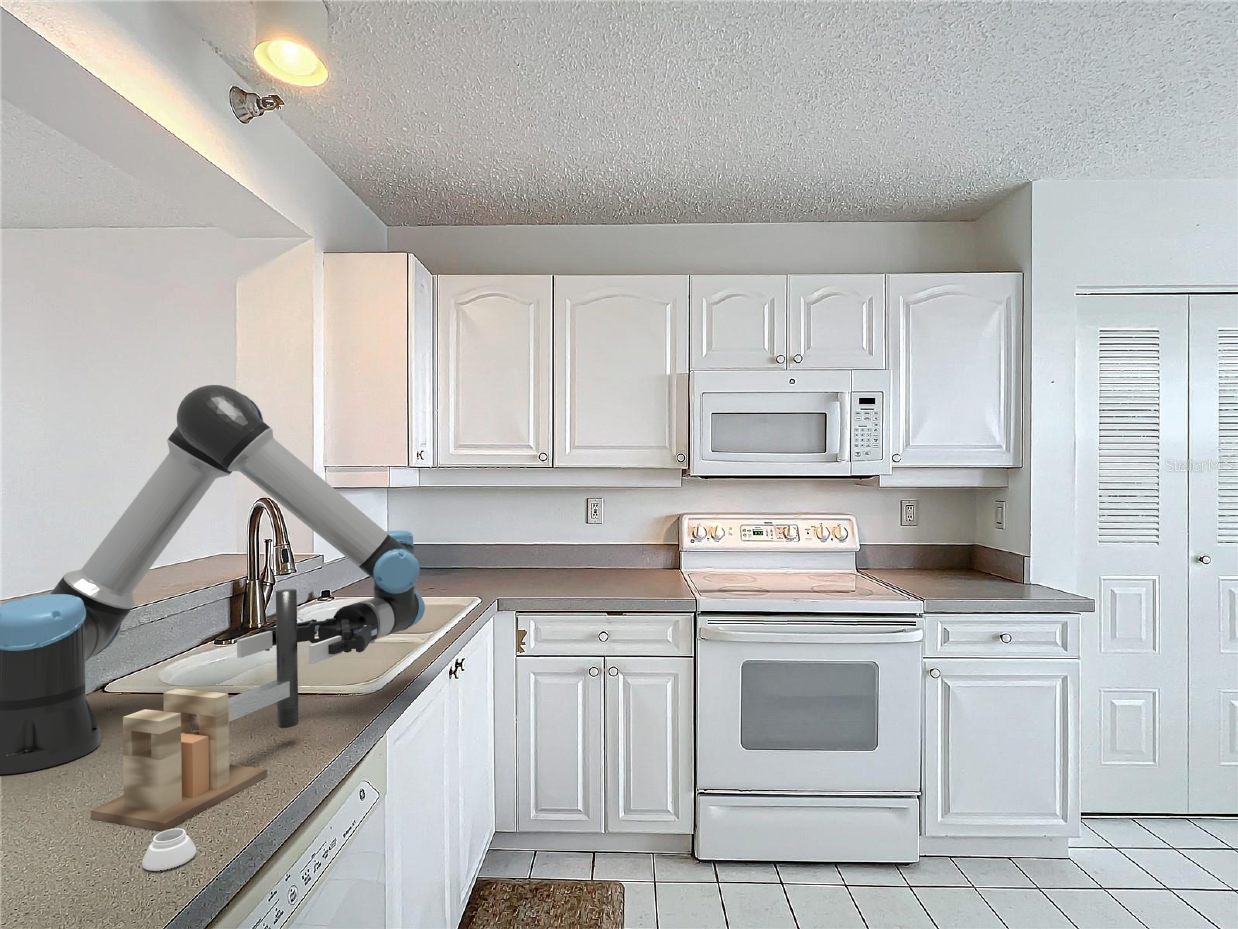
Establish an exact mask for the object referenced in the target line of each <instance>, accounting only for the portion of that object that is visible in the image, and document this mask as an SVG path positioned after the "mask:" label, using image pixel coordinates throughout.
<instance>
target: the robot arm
mask: <svg viewBox="0 0 1238 929" xmlns="http://www.w3.org/2000/svg"><path fill="white" fill-rule="evenodd" d="M176 424H177V426H176V427H175V428H174V430H173V432H172V433H171V434H170V435H169V437H168V438H167V440H166V442H167V445H168V453H167V455H166V456H165V458H164V460H162V462H161V463H160V464H159V466H158V467H157V469H156V470H155V471H154V472H153V473H152V475H151V477H150V478H148V480H147V481H146V483H145V484H144V486H142V489H140V491H139V492H138V494H137V495H136V496H135V498H134V499H133V500H132V502H131V503H130V504H129V506H128V507H127V508H126V509H125V511H124V512H123V513H122V515H121V516H120V518H119V519H118V520H117V522H115V524H114V525H113V527H112V528H111V529H110V530H109V532H108V533H107V535H106V536H105V538H103V540H102V541H101V542H100V544H99V545H98V547H97V548H96V549H95V550H94V552H93V553H92V554H91V556H89V558H88V559H87V561H86V562H85V564H84V565H83V566H82V568H80V569H76V570H72V571H69V572H66V573H65V574H64V575H63V576H62V578H61V579H60V580H59V581H58V583H57V584H56V585H55V587H54V588H53V589H52V591H50V593H49V594H43V595H42V594H41V595H34V596H28V597H24V598H21V599H18V600H12V601H9V602H6V603H4V604H1V605H0V775H11V774H20V773H28V772H33V771H38V770H43V769H48V768H51V767H55V766H58V765H62V764H64V763H68V762H71V761H74V760H77V759H79V758H81V757H83V756H85V755H88V754H89V753H91V752H93V751H94V750H96V749H97V748H98V747H99V745H101V730H100V729H101V728H100V727H99V724H98V722H97V720H96V717H95V715H94V712H93V710H92V708H91V706H90V705H91V704H89V702H88V699H87V696H86V695H87V694H86V693H87V692H86V662H87V661H88V660H90V659H91V658H92V657H95V656H97V655H98V654H100V653H101V652H103V651H105V650H106V649H107V648H108V647H109V646H110V645H111V644H112V643H113V642H114V641H115V639H116V638H117V636H118V634H119V632H120V631H121V627H122V624H123V622H124V620H125V619H126V618H127V616H128V615H129V613H130V612H131V611H132V609H133V608H134V606H135V604H136V602H135V600H134V599H135V598H134V596H133V594H134V593H133V592H134V591H135V589H136V588H137V587H138V585H139V584H140V583H141V581H142V580H143V578H144V577H145V576H146V574H147V573H148V572H149V571H150V569H151V568H152V566H153V565H154V563H155V562H156V561H157V559H158V558H159V557H160V555H161V554H162V553H163V551H164V550H165V548H166V547H167V546H168V545H169V543H170V542H171V540H172V539H173V538H174V537H175V535H176V534H177V533H178V532H179V529H180V528H181V527H182V525H183V524H184V523H185V522H186V521H187V519H188V518H189V516H190V515H191V514H192V512H193V510H194V509H195V508H196V507H197V505H198V503H200V501H201V500H202V498H203V497H204V495H205V494H207V491H208V490H209V489H210V488H211V486H212V485H213V483H214V482H215V481H216V479H219V478H223V477H227V476H230V475H231V474H232V473H233V472H240V473H241V474H242V475H243V476H245V477H246V478H247V479H248V480H250V481H251V482H252V483H254V484H255V485H256V486H257V487H258V488H260V490H262V491H263V492H265V493H266V494H267V495H269V496H270V497H271V498H272V499H273V500H274V501H276V502H277V503H278V504H280V505H281V506H282V507H283V508H285V509H286V510H287V511H289V512H290V513H291V514H293V516H294V517H296V518H297V519H298V520H299V521H301V522H302V523H304V525H305V526H307V527H308V528H309V529H310V530H312V531H313V532H314V533H315V534H317V535H318V536H319V537H320V538H322V539H323V540H324V541H325V542H327V543H328V544H330V545H331V546H332V547H333V548H334V549H336V551H338V552H340V554H342V555H343V556H345V557H346V558H347V559H348V560H349V561H351V562H352V563H353V564H355V566H357V567H358V568H359V569H360V570H361V571H363V572H364V573H365V574H366V575H368V576H369V577H370V578H371V579H372V580H373V597H372V598H367V599H364V600H360V601H357V602H354V603H352V604H349V605H344V606H342V607H340V608H339V609H338V610H337V611H336V612H335V614H334V616H333V617H331V618H325V619H324V620H318V621H317V619H314V618H313V619H310V620H306V621H303V622H301V621H300V622H297V643H303V642H309V643H310V644H309V645H308V664H311V665H312V664H313V665H314V664H316V663H319V662H321V661H325V660H327V659H329V658H333V657H336V656H338V655H342V653H343V652H344V653H348V654H349V653H351V652H352V651H353V650H355V652H356V653H362V652H364V651H365V650H366V649H367V648H368V646H369V645H370V644H375V643H376V640H378V639H381V638H384V637H387V636H391V635H394V634H395V633H399V632H404V631H406V630H407V629H410V628H411V627H413V626H414V625H417V624H418V623H419V622H420V621H421V620H422V619H423V616H424V614H425V611H426V607H425V606H426V605H425V604H426V603H425V601H424V599H423V598H422V595H421V594H420V593H419V591H417V590H415V584H416V583H417V581H418V579H419V576H420V568H421V567H420V562H419V560H418V558H417V557H416V555H415V554H414V553H415V552H414V551H415V544H414V535H413V533H412V532H411V531H408V530H384V529H383V528H382V527H381V526H379V525H378V524H377V523H375V522H374V521H373V520H372V519H371V518H370V517H368V516H367V515H366V514H365V513H364V512H363V511H361V510H360V509H359V508H358V507H357V506H356V505H354V504H353V503H352V502H351V501H350V500H348V499H347V498H346V497H345V496H343V495H342V494H341V493H340V492H339V491H337V489H335V488H334V487H333V486H331V485H330V484H329V483H328V482H327V481H326V480H324V479H323V478H322V477H320V475H318V474H317V473H316V472H315V471H314V470H312V469H311V468H310V467H309V466H307V464H305V463H304V462H302V460H300V458H298V457H297V456H295V455H294V453H292V452H291V451H289V450H288V449H287V448H286V447H285V446H284V445H282V444H281V443H280V442H279V441H278V440H276V439H275V438H274V431H273V428H271V426H269V425H268V424H267V423H266V422H264V418H263V414H262V411H261V410H260V408H259V406H258V405H257V404H256V403H255V401H254V400H252V399H251V398H249V397H248V396H247V395H245V394H243V393H241V392H239V391H238V390H236V389H234V388H231V387H228V386H226V385H221V384H208V385H203V386H200V387H197V388H196V389H193V390H192V391H191V392H189V393H188V394H187V395H185V397H184V398H183V399H182V400H181V402H180V404H179V405H178V408H177V412H176ZM258 631H259V632H258V634H253V635H251V636H247V637H243V638H240V639H237V640H236V658H239V659H242V658H245V657H248V656H251V655H254V654H258V653H259V652H263V651H264V652H266V651H267V652H269V651H270V650H271V649H273V646H276V626H271V627H262V628H259V630H258ZM316 635H317V636H318V638H316Z"/></svg>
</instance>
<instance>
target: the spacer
mask: <svg viewBox="0 0 1238 929" xmlns="http://www.w3.org/2000/svg"><path fill="white" fill-rule="evenodd" d="M181 767H182V796H184V797H191V798H194V797H196V796H198V795H200V794H202V793H203V792H205V791H207V790H209V736H202V735H193V734H185V733H181Z"/></svg>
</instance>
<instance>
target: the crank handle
mask: <svg viewBox="0 0 1238 929" xmlns="http://www.w3.org/2000/svg"><path fill="white" fill-rule="evenodd" d="M297 595H298V590H297V589H295V588H287V589H286V588H285V589H279V590H275V627H276V645H275V646H276V647H275V649H276V651H275V652H276V679H275V680H273V681H270V682H267V683H266V684H265V683H264V684H262V685H260V686H257V687H255V688H252V689H248V690H246V691H244V692H242V693H239V694H237V695H233V696H230V697H228V706H229V723H230V722H232V721H234V720H237V719H239V718H242V717H244V716H246V715H249V714H251V713H253V712H256V711H259V710H261V709H263V708H266V707H268V706H270V705H273V704H277V705H276V709H277V712H276V714H277V716H276V717H277V722H276V723H277V725H276V726H277V728H278V729H289V728H293V727H296V726H298V724H299V671H298V670H299V668H298V667H299V664H298V662H299V660H298V658H299V657H298V642H297V623H298V606H297V605H298V597H297ZM191 730H193V731H197V732H199V714H191Z"/></svg>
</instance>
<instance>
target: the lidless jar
mask: <svg viewBox="0 0 1238 929" xmlns="http://www.w3.org/2000/svg"><path fill="white" fill-rule="evenodd" d="M196 854H197V848H196V845H195V844H194V842H193V839H191V838H190V836H189V835H187V832H186V830H185V829H184V828H178V827H177V828H176V827H175V828H171V829H169V830H166V831H160V832H158V833H157V834H156V835H154V837H153V838H152V842H151V843H150V845H149V846H148V848H147V850H146V852H145V854H144V856H143V858H142V862H141V863H142V868H143V869H145V870H147V871H155V872H161V871H160V870H162V871H168V870H171V868H172V869H174V867H175V868H177V866H178V867H180V866H182V865H184V864H186V863H187V862H189V861H190V860H191V859H193V858H194V857H195V855H196ZM179 865H180V866H179ZM167 869H168V870H167Z"/></svg>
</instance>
